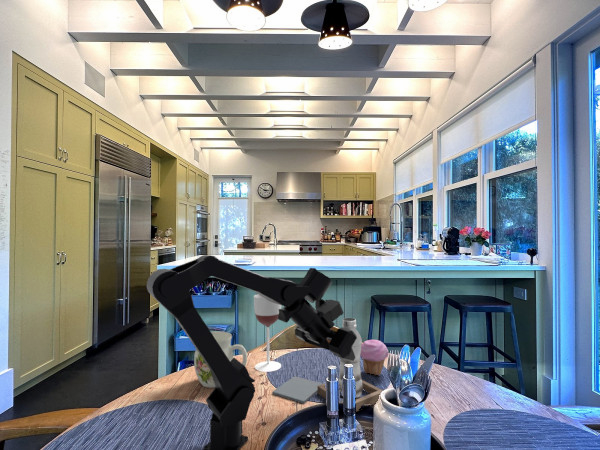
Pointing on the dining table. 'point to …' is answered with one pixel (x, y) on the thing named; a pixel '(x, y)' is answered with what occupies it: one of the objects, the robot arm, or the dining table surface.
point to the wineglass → (267, 316)
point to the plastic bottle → (351, 325)
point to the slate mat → (297, 389)
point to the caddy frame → (367, 399)
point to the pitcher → (225, 343)
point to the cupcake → (373, 356)
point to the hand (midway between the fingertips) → (341, 353)
